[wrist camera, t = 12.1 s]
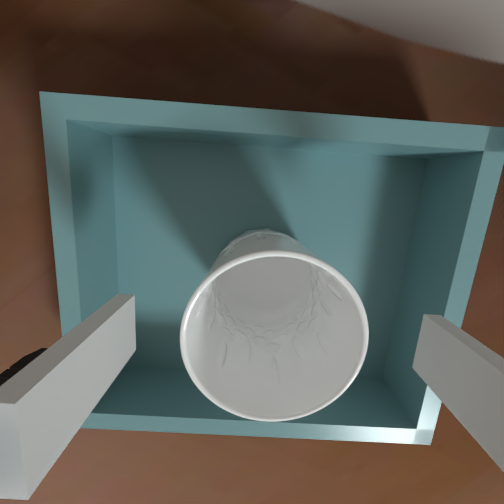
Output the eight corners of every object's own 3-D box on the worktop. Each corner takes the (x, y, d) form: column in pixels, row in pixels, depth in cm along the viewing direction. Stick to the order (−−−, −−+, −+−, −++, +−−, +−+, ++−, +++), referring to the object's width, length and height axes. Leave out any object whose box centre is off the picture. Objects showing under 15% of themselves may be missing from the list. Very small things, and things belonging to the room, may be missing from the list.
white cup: (215, 214, 21) (185, 240, 11) (322, 226, 21) (387, 262, 11) (206, 314, 22) (174, 414, 13) (306, 324, 23) (349, 429, 13)
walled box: (437, 143, 21) (512, 128, 15) (388, 384, 25) (430, 444, 19) (100, 118, 20) (39, 91, 14) (112, 369, 25) (70, 427, 19)
